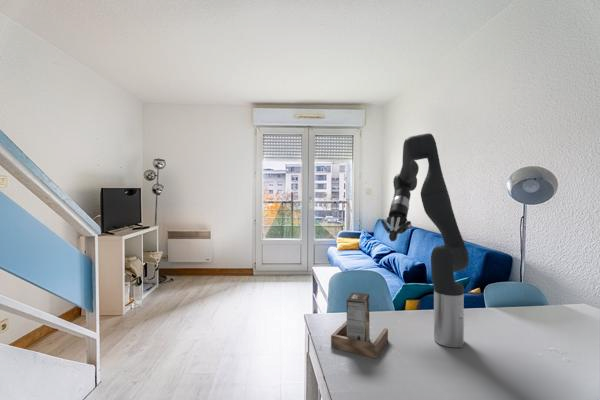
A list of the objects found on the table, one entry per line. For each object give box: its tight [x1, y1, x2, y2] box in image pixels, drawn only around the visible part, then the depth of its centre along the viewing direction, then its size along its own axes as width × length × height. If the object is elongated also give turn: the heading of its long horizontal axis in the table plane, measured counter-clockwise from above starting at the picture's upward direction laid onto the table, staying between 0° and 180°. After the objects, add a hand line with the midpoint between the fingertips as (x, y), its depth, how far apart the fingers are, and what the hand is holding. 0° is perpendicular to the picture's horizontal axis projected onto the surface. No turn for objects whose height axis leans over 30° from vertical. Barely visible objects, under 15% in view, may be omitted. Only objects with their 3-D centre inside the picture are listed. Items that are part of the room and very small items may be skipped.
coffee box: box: [346, 292, 370, 342], centre depth 111 cm, size 9×6×16 cm
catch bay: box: [330, 320, 389, 359], centre depth 111 cm, size 15×14×4 cm
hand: (392, 240), depth 132 cm, fingers closed
